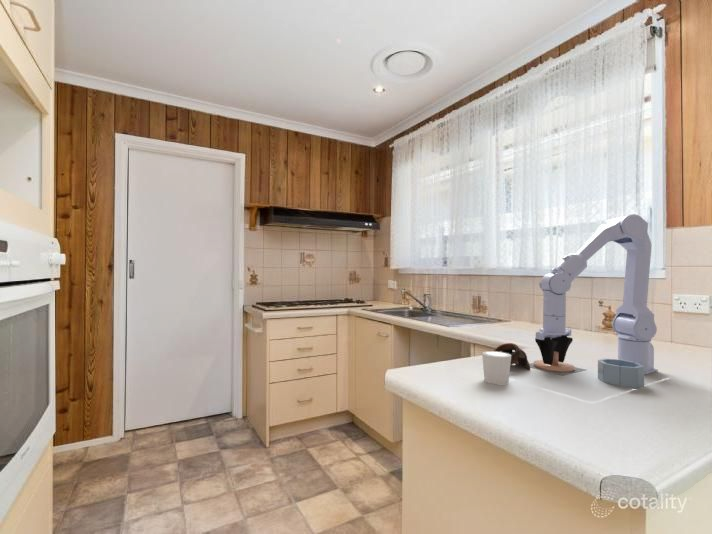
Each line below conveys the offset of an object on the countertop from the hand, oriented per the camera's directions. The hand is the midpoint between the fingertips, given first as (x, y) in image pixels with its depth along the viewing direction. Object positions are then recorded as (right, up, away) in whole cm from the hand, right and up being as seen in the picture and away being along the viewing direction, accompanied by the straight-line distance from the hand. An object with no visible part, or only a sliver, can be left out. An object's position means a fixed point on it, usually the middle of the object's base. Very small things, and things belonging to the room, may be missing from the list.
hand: (553, 362), depth 106 cm
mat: (0, -2, 0) cm, 2 cm away
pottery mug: (-12, -2, 0) cm, 13 cm away
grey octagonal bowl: (+10, -2, -13) cm, 16 cm away
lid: (0, -1, 0) cm, 1 cm away
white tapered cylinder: (-21, -2, -13) cm, 25 cm away
